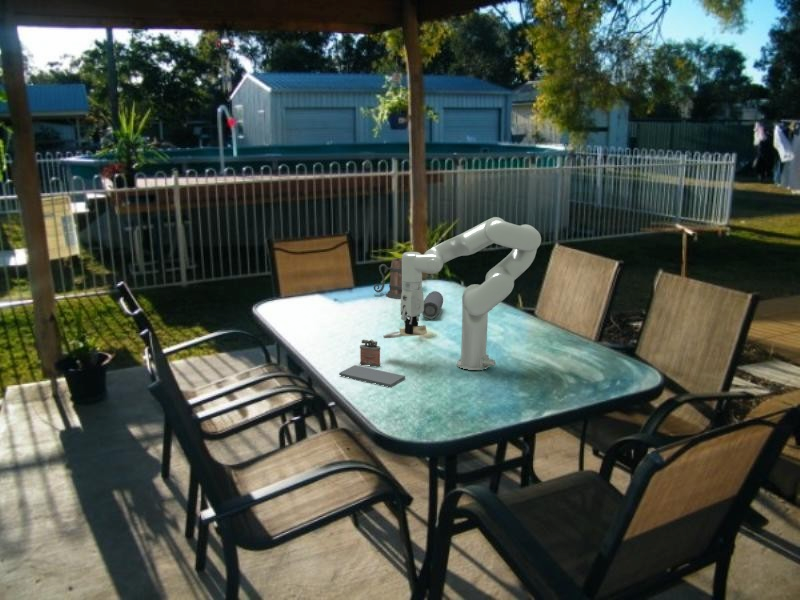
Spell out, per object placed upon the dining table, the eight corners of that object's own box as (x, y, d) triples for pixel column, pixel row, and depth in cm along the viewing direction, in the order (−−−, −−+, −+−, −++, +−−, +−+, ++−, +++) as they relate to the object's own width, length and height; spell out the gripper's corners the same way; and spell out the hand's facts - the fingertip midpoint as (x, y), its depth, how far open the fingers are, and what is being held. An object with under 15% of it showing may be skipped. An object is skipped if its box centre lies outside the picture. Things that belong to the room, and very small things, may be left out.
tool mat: (405, 379, 242) (405, 375, 241) (390, 387, 233) (390, 384, 233) (354, 368, 253) (354, 365, 252) (339, 375, 244) (339, 372, 244)
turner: (428, 332, 253) (427, 324, 252) (420, 336, 248) (419, 328, 248) (392, 334, 262) (390, 327, 262) (383, 338, 257) (382, 330, 257)
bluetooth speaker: (439, 321, 316) (440, 301, 313) (420, 320, 317) (420, 300, 315) (444, 309, 338) (444, 290, 335) (425, 308, 339) (426, 289, 337)
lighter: (381, 364, 257) (381, 339, 254) (378, 367, 254) (378, 342, 251) (361, 362, 259) (361, 337, 256) (358, 365, 256) (358, 340, 253)
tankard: (413, 291, 375) (413, 256, 370) (419, 298, 359) (419, 262, 354) (371, 293, 371) (371, 257, 366) (376, 300, 355) (376, 263, 350)
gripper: (408, 290, 240) (408, 339, 245) (431, 282, 254) (430, 329, 258) (391, 288, 244) (391, 336, 249) (414, 280, 258) (414, 326, 262)
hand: (411, 332), depth 253 cm, fingers closed on turner, 3 cm apart
